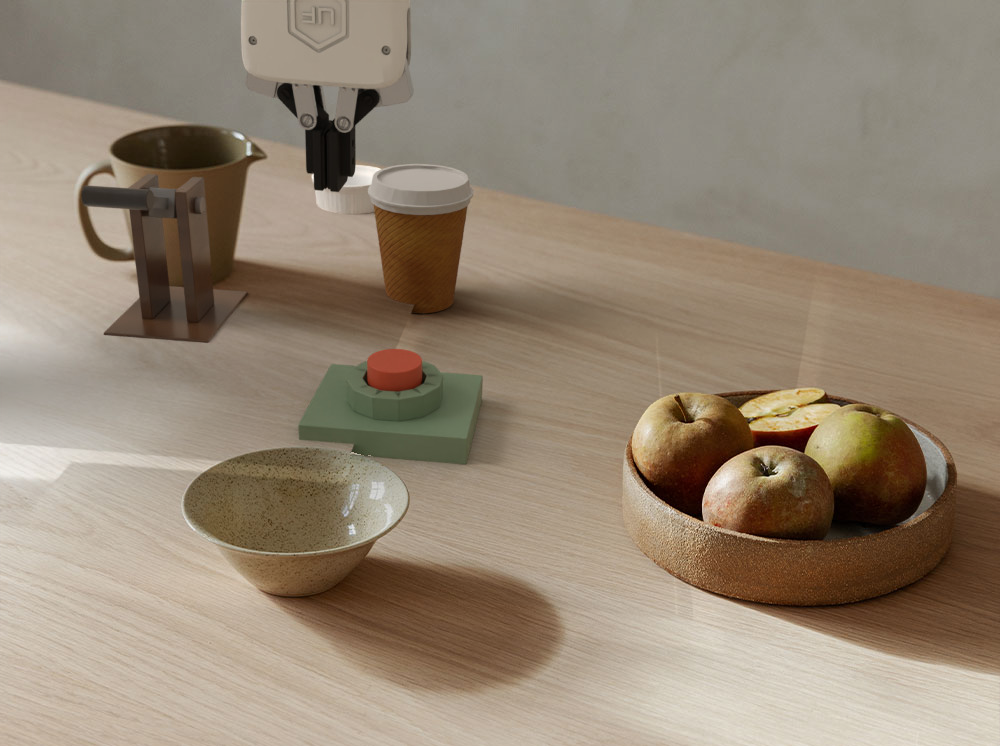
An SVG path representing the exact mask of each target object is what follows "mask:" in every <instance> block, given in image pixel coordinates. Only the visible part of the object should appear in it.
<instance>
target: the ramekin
mask: <svg viewBox="0 0 1000 746" xmlns="http://www.w3.org/2000/svg"><path fill="white" fill-rule="evenodd" d="M381 169H382V168H379V167H376V166H371V165H362V164H356V166H355V173H354V175H353V177H348V179H347V182H346V183H345V184H344V186H343V187H342V188H341V190H340V191H339V192H331V191H330V189H328V188H326V189H324V190H323V191H319V190H314V195H315V202H316V206H317V207H318V208H319V209H321V210H323V211H325V212H329V213H335V214H341V215H362V214H369V213H371V214H372V213H375V212H374V204H373V203H372V201H371V197H370V196H369V194H368V188H369V186H370V185H371V183H372V178H373V175H374V173H376V172H377V171H379V170H381ZM311 181H312V184H313V185H314V174H311Z"/></svg>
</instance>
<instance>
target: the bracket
mask: <svg viewBox="0 0 1000 746" xmlns="http://www.w3.org/2000/svg"><path fill="white" fill-rule="evenodd" d="M159 182H160V181H159V175H158V174H153V173H146V174H145V175H143V176H142V177H141V178H139V179H138V180H137V181H135V182H134V183H132V184H131V185H130V186H128V188H133V189H148V190H149V188H160V183H159ZM205 187H206V186H205V178H204V177H202V176H199V177H198V176H192V177H191V178H190V179H188V180H187V181H186V182H185V183H183V184H182V185H181V186H180V187H178V188H176V189H177V190H176V191H175V203H176V213H177V219H176V223H177V234H178V243H179V253H180V264H181V272H182V273H181V275H182V284H183V285H182V286H172V285H170V279H169V269H168V260H167V251H166V241H165V231H164V222H163V221H164V219H163V218H160V217H149V211H147V210H132V209H128V210H129V211H128V212H129V219H130V229H131V236H132V237H131V239H132V246H133V255H134V261H135V271H136V280H137V289H138V296H139V297H138V299H137V300H136V301H134V302H133V303H132V304H131V305H130V306H129V307H128V308H127V309H126V310H125V311H124V312H123V313H122V314H121V315H120V316H119V317H118V318H117V319H116V320H115V321H114V322H113V323H111V325H110V326H109V327H108V328H107V329H106V330H104V331H103V336H111V337H125V338H138V339H153V340H163V341H176V342H177V341H178V342H190V343H203V344H204V343H205V344H208V343H210V341H212V339H213V338H214V337H215V335H216V334H217V332H218V331H219V330H220V329H221V327H222V326H223V325H224V324H225V323H226V321H227V320H228V319H229V318H230V317H231V316H232V315H233V313H234V311H236V309H237V308H238V307H239V305H240V304H241V303H242V301H243V300H244V299H245V298H246V296H247V295H248V291H243V290H229V289H228V290H227V289H216V288H214V284H213V283H214V282H213V270H212V259H211V248H210V236H209V223H208V212H207V211H208V210H207V199H206V188H205Z"/></svg>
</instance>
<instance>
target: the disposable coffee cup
mask: <svg viewBox="0 0 1000 746" xmlns="http://www.w3.org/2000/svg"><path fill="white" fill-rule="evenodd" d="M380 169H381V170H379V171H377V172H376V173H374V175H373V178H372V183H371V185H370V186H369V188H368V194H369V196H370V197H371V201H372V203H373V204H374V212H373V213H374V218H375V219H374V220H375V226H376V233H377V239H378V246H379V247H378V248H379V253H380V263H381V266H382V267H381V268H382V275H383V282H384V283H383V284H384V290H385V294H386V295H387V297H388V298H389V299H391V300H394V301H396V302H399V303H402V304H407V305H413V307H412V309H411V312H410V313H413V314H431V313H436V312H437V313H438V312H441V311H443V310H447V309H448V308H450V307H452V305H453V304H454V301H455V294H456V293H455V292H456V285H457V280H458V273H459V266H460V259H461V253H462V246H463V240H464V233H465V227H466V226H465V225H466V220H467V214H468V213H467V212H468V208H469V207H468V206H469V205H470V203H471V199H472V198H473V197H474V189H473V187H472V186H471V185H470V179H469V176H468V174H466V173H465V172H464V171H462V170H459V169H457V168H454V167H451V166H445V165H439V164H429V163H408V164H397V165H391V166H387V167H384V168H380Z"/></svg>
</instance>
